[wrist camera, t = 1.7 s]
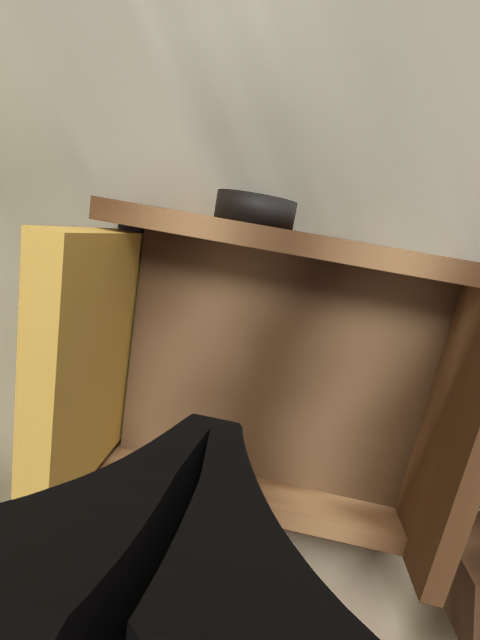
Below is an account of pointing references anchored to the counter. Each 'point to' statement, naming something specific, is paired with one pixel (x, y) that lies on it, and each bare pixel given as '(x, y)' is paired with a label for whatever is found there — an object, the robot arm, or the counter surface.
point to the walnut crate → (467, 589)
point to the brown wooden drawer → (315, 372)
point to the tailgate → (72, 350)
